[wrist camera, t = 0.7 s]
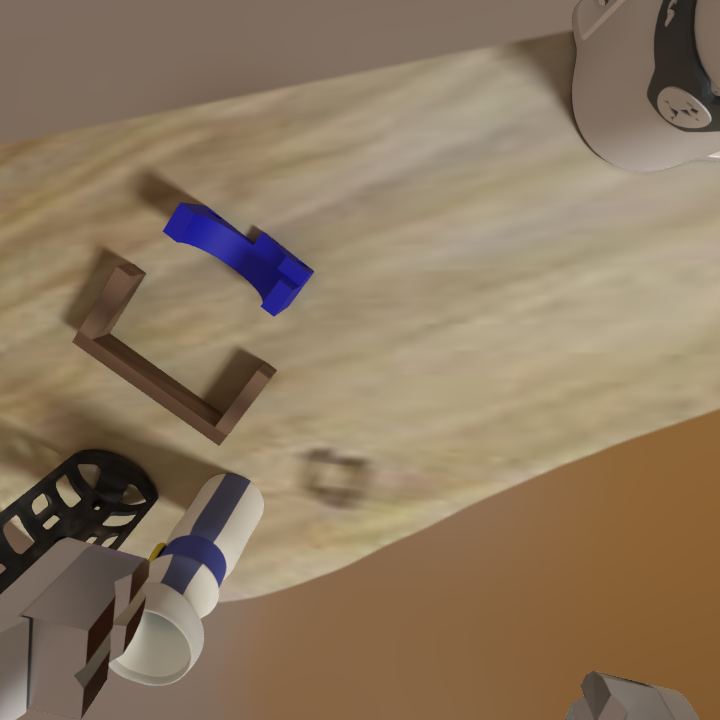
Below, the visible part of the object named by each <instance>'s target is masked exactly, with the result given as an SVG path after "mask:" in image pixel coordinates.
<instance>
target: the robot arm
mask: <svg viewBox="0 0 720 720" xmlns="http://www.w3.org/2000/svg"><path fill="white" fill-rule="evenodd" d="M572 26H573V33H574V38H575V43H576V47H577V57H576V64H575V69H574V75H573V82H572V103H573V110H574V115H575V119H576V122H577V125H578V127H579V130H580V132H581V134H582V135H583V137H584V139H585V140H586V142H587V143H588V144H589V146H590V147H591V148H592V149H593V150H594V151H595V152H596V153H597V154H598V155H599V156H600V157H602V158H603V159H605V160H606V161H608V162H610V163H611V164H613V165H616V166H618V167H621V168H624V169H628V170H633V171H657V170H663V169H667V168H671V167H674V166H677V165H680V164H682V163H685V162H689V161H693V160H707V161H720V0H605V6H601V5H599V3H598V0H581V1H580V2H579V3H578V4H577V5H576V7H575V9H574V11H573V15H572ZM149 567H150V561H149V560H147V559H146V558H142V557H139V556H135V555H132V554H128V553H124V552H121V551H117V550H114V549H110V548H107V547H103V546H100V545H96V544H90V543H86V542H83V541H79V540H76V539H72V538H69V537H67V538H65V539H62V540H60V541H58V542H57V543H56V544H55V545H53V546H52V547H51V548H50V549H49V550H48V551H47V552H46V553H45V554H44V555H43V556H42V557H40V558H39V559H38V560H37V561H36V562H35V563H34V564H33V565H32V566H31V567H30V568H29V569H27V570H26V571H25V572H24V573H23V574H22V575H21V576H20V577H19V578H18V579H17V580H16V581H14V582H13V583H12V584H11V585H10V586H9V587H8V588H7V589H6V590H5V591H4V592H3V593H1V594H0V720H16V719H17V718H18V717H20V716H22V715H23V714H24V713H26V708H27V709H32V710H37V711H41V712H46V713H50V714H55V715H60V716H64V717H69V718H73V719H78V720H81V719H82V718H83V716H84V714H85V713H86V711H87V710H88V708H89V707H90V705H91V704H92V702H93V701H94V699H95V697H96V696H97V694H98V693H99V691H100V690H101V688H102V687H103V685H104V683H105V682H106V680H107V676H108V668H109V662H111V661H113V660H115V659H116V658H118V657H120V656H121V655H123V654H124V652H125V650H126V649H127V647H128V646H129V644H130V642H131V641H132V639H133V637H134V635H135V633H136V630H137V628H138V626H139V624H140V621H141V618H142V615H143V611H144V608H145V601H146V595H145V593H144V592H143V590H142V588H141V587H142V586H143V584H144V583H145V581H146V580H147V578H148V577H149ZM581 688H582V691H583V694H584V697H583V698H581V699H579V700H577V701H575V702H573V703H572V704H571V706H570V708H569V710H568V713H567V715H566V717H565V720H700V719H699V718H698V716H697V714H696V713H695V711H694V710H693V708H692V706H691V705H690V703H689V702H688V700H687V699H686V698H685V697H684V696H683V695H681V693H679V692H678V691H675V690H671V689H666V688H663V687H659V686H654V685H649V684H645V683H642V682H638V681H633V680H629V679H625V678H621V677H616V676H612V675H609V674H604V673H600V672H596V671H592V672H590V673H589V674H587V675H586V676H585V678H584V680H583V682H582V684H581Z"/></svg>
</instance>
